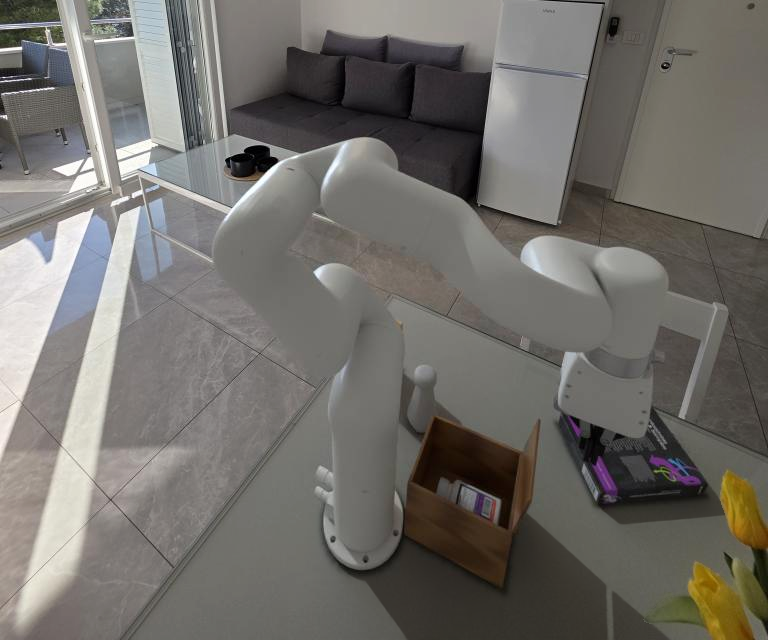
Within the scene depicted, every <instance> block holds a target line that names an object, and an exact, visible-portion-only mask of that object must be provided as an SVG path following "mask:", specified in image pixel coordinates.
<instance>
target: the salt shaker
mask: <svg viewBox="0 0 768 640" xmlns="http://www.w3.org/2000/svg"><path fill="white" fill-rule="evenodd" d="M413 382H414V384H415V387H414V389H413V391H412V395H411V398H410V401H409V403H408V407H407V411H406V413H407V414H406V416H407V419H408V421H409V423H410V426H412V428H413V429H414V431H415V432H416V433H419V434H420V433H421V434H426V431H427V428H428V425H429V423H430V420H431V417H432V414H436V415H438V410H437V402H436V396H435V389H434V388H435V386H436V385H437V382H438V375H437V371H436V369H435V368H434V367H432V366H431V365H428V364H420V365H419V366H416V368H415V369H414V372H413Z"/></svg>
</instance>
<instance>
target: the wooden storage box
mask: <svg viewBox="0 0 768 640" xmlns="http://www.w3.org/2000/svg"><path fill="white" fill-rule="evenodd" d="M522 454H523V451H522V450H519V449H517V448H514V447H512V446H510V445H507V444H505V443H504V442H501V441H498V440H496V439H494V438H491V437H489V436H487V435H485V434H482V433H480V432H477V431H475V430H472V429H471V428H468V427H466V426H463V425H461V424H459V423H457V422H454V421H452V420H449V419H447V418H445V417H443V416H440V415H438V414H437V415H436V414H432V417H431V420H430V423H429V425H428V428H427V431H426V433H424V435H423V439H422V441H421V445H420V448H419V449H418V453H417V456H416V458H415V461H414V464H413V467H412V469H411V471H410V475H409V477H408V480H407V484H406V497H405V498H406V499H405V512H404V513H405V514H404V525H403V534H404V536H406V537H408V538H410V539H412V540H414V541H415V542H418V543H419V544H421V545H422V546H425V547H426V548H427V549H429V550H432V551H433V552H435V553H437V554H439V555H441V556H442V557H445V558H446V559H448V560H449V561H451V562H454V563H455V564H456V565H458V566H460V567H462V568H464V569H465V570H467V571H470V573H473V574H474V575H475V576H477V577H480V578H481V579H483V580H485V581H486V582H488V583H491V584H492V585H494V586H495V587H497V588H499V589H501V590H503V588H504V583H505V582H504V581H505V576H506V571H507V565H508V560H509V556H510V550H511V545H512V540H513V534H514V533H513V532H512V526H513V518H514V511H515V504H516V497H517V490H518V483H519V475H520V468H521V461H522ZM441 477H443V478H445V479H447V480H448V481H450V483H452V484H453V483H454V482H455V481H456V480H461V481H463V482H465V483H467V484H469V485H471V486H473V487H476V488H478V489H480V490H482V491H484V492H486V493H488V494H490V495H492V496H495V497H497V498H498V499H500V500H501V501H502V504H501V511H500V516H499V522H498V525H496V524H494V523H492V522H491V521H489V520H487V519H485V518H483V517H481V516H479V515H477V514H475V513H473V512H471V511H469V510H467V509H465V508H463V507H461V506H459V505H457V504H455V503H453V502H451V501H449V500H447V499H445V498H443V497H441V496H439V495H437V494H436V492H437V488H438V484H439V481H440V478H441Z"/></svg>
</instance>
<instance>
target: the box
mask: <svg viewBox="0 0 768 640" xmlns="http://www.w3.org/2000/svg"><path fill="white" fill-rule="evenodd" d="M558 426H559V428H560V430H561V432H562V434H563V437H564V438H565V440H566V443H567V445H568V447H569V449H570V451H571V453H572V455H573V457H574V460H575V461H576V463H577V466H578V467H579V468H578V469H579V470H580V471H581V474H582V475H583V477H584V480H585V482H586V484H587V486H588V488H589V490H590V493H591V495H592V497H593V499H594V501H595V504H596V505H606V504H616V503H624V502H626V503H627V502H639V501H648V500H661V499H670V498H681V497H692V496H704V495H705V494H706V492H707V489H708V486H709V485H710V484H709V482H708V481H707V479H706V478H705V477H704V476H703V474H702V473H701V472H700V470H699V469H698V467H697V466H696V464H695V463H694V462H693V461H692V459H691V457H690V456H689V455H688V453H687V452H686V450H684V448H683V447H682V445H681V444H680V442H679V441H678V440H677V439H676V437H675V435H674V434H673V433H672V432H671V430H670V429H669V427H668V426H667V424H666V423H665V422H664V420H663V419H662V417H660V415H659V414H658V413H657V410H656V409H655V407H653V406H651V409H650V417H649V422H648V427H647V430H646V433H645V440H644V441H639V440H634V439H629V438H627V437H625V438H622V439H618V440H613V441H612V442H611V444H610V445H609V446H606V447H605V452H604V456H603V458H602V457H600V456H598V460H597V464H596V466H594V465H592V463H590V459H589V462H588V461H587V462H585V461H583V450H582V449H580V448H578V439H579V433H580V430H579V428H578V427H577V426H576V425H575V424H574V422H573V421H572V420H571V419H570V417H569V416H568V415H565V414H563V413H561V412H560V414H559V419H558ZM593 427H594V424H593Z"/></svg>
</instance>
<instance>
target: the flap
mask: <svg viewBox="0 0 768 640" xmlns="http://www.w3.org/2000/svg"><path fill="white" fill-rule="evenodd" d="M541 422H542V420H541V419H540V418H537V420H536V422H535V424H534V426H533V429H532V430H531V431H530V434H529V436H528V438H527V440H526V442H525V445H524V446H523V449H522V452H523V454H522V461H521V468H520V475H519V483H518V490H517V497H516V504H515V511H514V518H513V526H512V532H513V534H515V533H516V532H517V530H518V528H519V526H520V524H521V522H522V521H523V519H524V517H525V516H526V514H527V512H528V510H529V508H530V506H531V504H532V502H533V497H534V487H535V478H536V469H537V458H538V450H539V440H540V431H541Z"/></svg>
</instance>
